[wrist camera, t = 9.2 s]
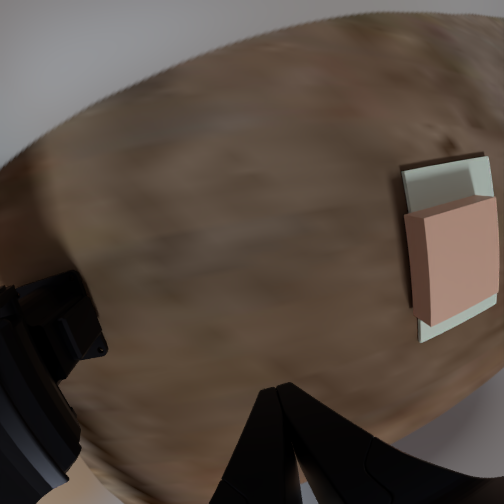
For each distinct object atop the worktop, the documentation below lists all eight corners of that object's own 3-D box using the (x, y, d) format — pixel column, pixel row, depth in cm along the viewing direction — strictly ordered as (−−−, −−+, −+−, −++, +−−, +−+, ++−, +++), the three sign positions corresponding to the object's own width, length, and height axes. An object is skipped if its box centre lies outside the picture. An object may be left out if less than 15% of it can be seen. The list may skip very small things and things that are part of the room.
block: (430, 327, 20) (498, 291, 20) (423, 218, 18) (495, 196, 18) (413, 315, 22) (480, 284, 22) (403, 214, 20) (475, 195, 21)
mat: (418, 341, 23) (420, 343, 23) (401, 171, 20) (404, 171, 20) (493, 302, 24) (496, 303, 23) (485, 156, 21) (488, 156, 20)
